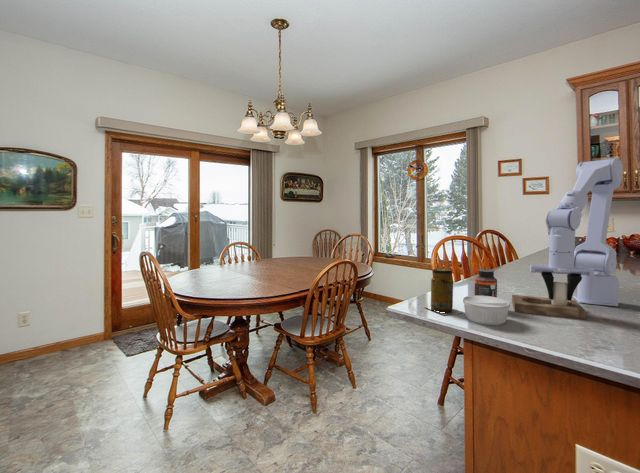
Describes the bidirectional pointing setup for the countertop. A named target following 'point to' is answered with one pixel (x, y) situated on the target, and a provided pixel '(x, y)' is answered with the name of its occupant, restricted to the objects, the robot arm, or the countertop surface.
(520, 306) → the keyhole board
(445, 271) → the condiment
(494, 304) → the ramekin
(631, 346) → the countertop surface
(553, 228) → the robot arm
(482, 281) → the supplement bottle
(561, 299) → the cream peg
